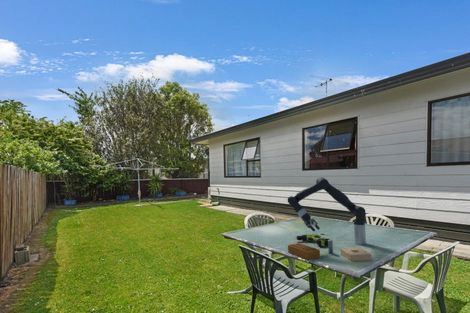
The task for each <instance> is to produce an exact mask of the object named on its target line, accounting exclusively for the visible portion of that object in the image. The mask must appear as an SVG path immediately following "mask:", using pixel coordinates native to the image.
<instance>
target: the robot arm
mask: <svg viewBox="0 0 470 313" xmlns="http://www.w3.org/2000/svg"><path fill="white" fill-rule="evenodd" d="M320 191H325V192H326V193H327V194H328V195H329V196H330V197H331V198H332V199H334V200H335V201H336V202H337V203H338V204H340V205H342V206H343V207H345V208H346V209H347V211H349V212H350V213H351V214H352V215H353V216H355V219H354V221H353V233H354V234H353V236H354V244H356V245H361V246H363V245H367V238H366V235H367V234H366V220H367V218H366V217H367V212H366V209H365V207H363V206H360V205H357V204H355V203H354V202H352V201H351V200H350V198H349V197H348V196H347V195H346V194H345V193H344V192H342V191H341V190H340V189H338V188H337V187H335V186H333V185H331V183H329V180H327V179H326V178H324V177H317V179H316V181H315V184H314V185H312V186H310V187H306V188H304V189H302V190H301V191H298V192H297V193H296V195H294V196H293V195H289V196H288V197H287V202H288V204H289V205H290V206H291V207H292V208H293V210H294V211H295V213H296V214H297V215H298V216H299V218H300V219H301V220H302V221H303V223H304V225H305V226H306V227H307V228H308V229H310V230H311V231H312V232H315V231H316V230H318V231H319V230H320V229H321V227H320V226H319V225H318V224H319V223H318V222H317V221H316V219H314V218H311V214H309V213H308V211H307V210H306V209H305V208H304V207H303V206H302V205H301V204H300V202H301V201H302V200H304V199H305V198H307V197H309V196H311V195H313V194H315V193H317V192H320ZM313 226H314V227H313Z"/></svg>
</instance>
